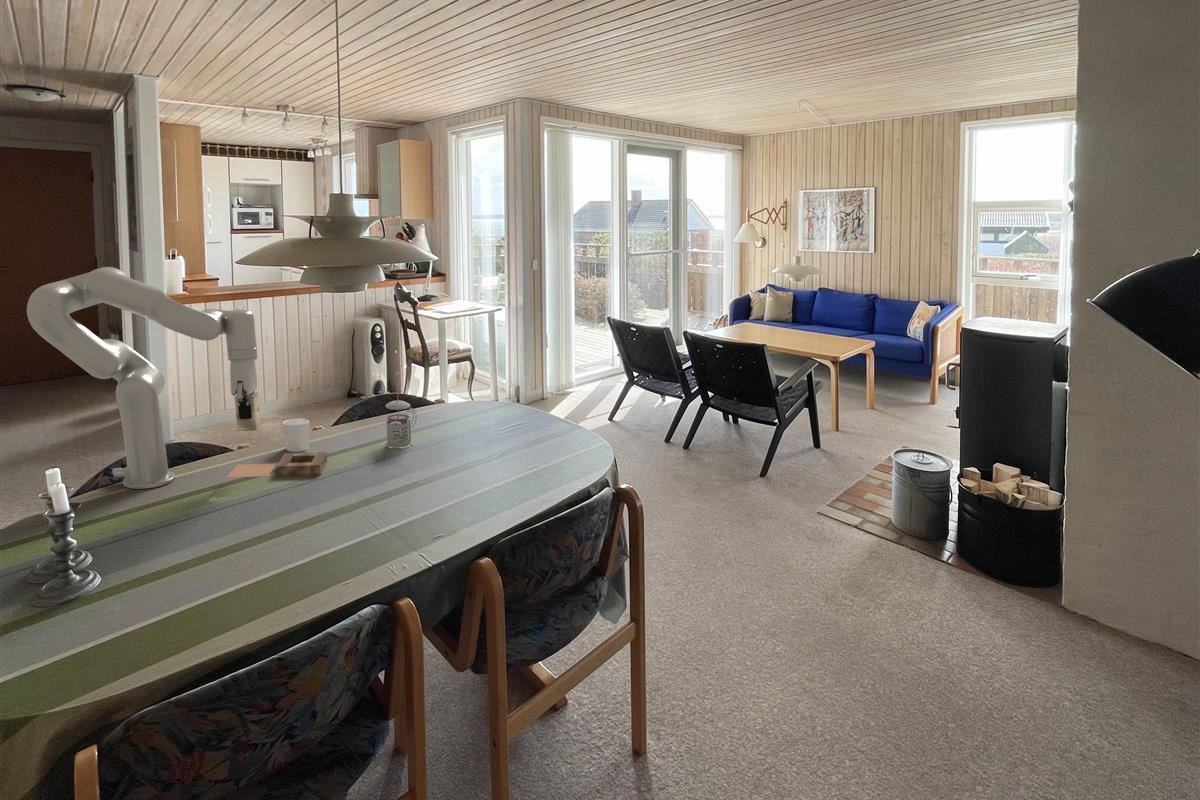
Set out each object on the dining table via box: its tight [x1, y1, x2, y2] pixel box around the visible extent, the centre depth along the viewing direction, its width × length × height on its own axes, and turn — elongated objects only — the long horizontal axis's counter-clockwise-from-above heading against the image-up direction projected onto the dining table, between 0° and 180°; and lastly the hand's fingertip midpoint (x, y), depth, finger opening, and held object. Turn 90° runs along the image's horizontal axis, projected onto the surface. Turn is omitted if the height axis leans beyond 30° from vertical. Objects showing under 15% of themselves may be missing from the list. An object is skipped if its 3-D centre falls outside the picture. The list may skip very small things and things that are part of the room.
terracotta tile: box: [226, 462, 277, 479], centre depth 213 cm, size 11×11×1 cm
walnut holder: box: [275, 451, 328, 477], centre depth 215 cm, size 12×12×4 cm
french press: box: [384, 371, 418, 448], centre depth 242 cm, size 10×12×25 cm
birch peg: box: [234, 392, 262, 432], centre depth 208 cm, size 5×5×10 cm
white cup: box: [282, 417, 311, 453], centre depth 232 cm, size 8×8×10 cm
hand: (248, 415), depth 208 cm, fingers closed on birch peg, 4 cm apart
